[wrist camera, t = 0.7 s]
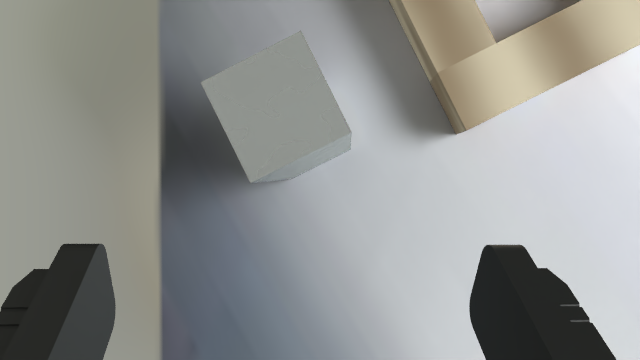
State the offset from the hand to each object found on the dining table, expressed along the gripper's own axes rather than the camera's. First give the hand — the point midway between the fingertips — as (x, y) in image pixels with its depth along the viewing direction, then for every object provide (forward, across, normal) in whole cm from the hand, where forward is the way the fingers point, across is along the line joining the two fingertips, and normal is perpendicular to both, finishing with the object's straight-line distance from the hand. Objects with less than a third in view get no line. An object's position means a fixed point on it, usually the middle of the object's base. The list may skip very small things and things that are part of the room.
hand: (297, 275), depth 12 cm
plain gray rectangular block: (+21, -2, +7) cm, 22 cm away
